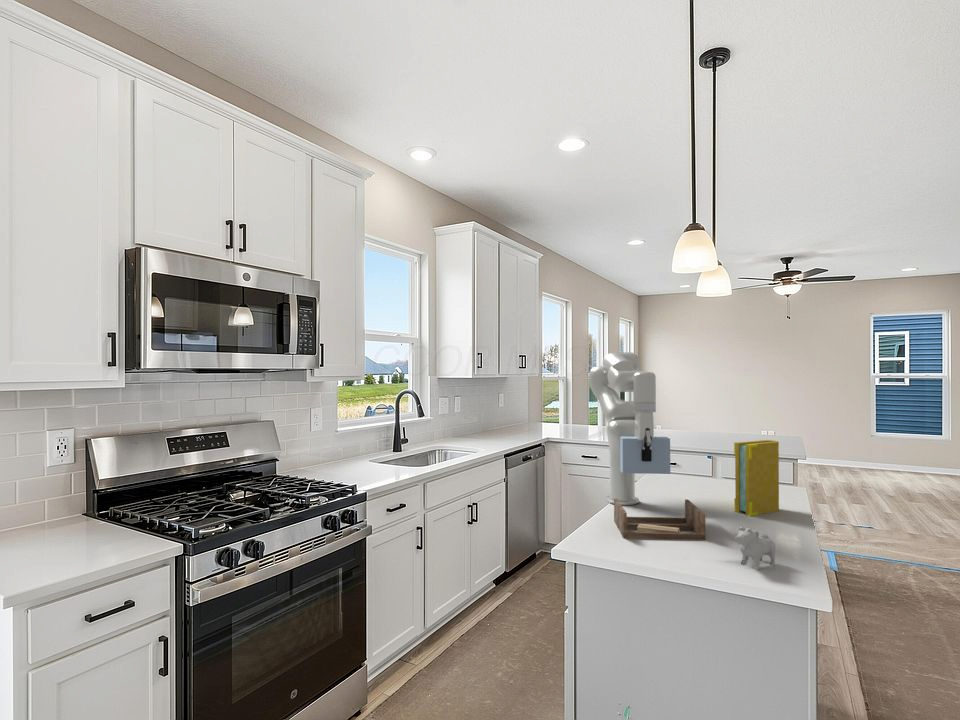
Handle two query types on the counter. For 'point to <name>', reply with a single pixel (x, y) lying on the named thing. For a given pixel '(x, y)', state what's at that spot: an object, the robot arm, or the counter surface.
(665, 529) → the offcut top
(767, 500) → the book
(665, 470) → the blue-grey rectangular block
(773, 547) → the grey animal figure
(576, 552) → the counter surface
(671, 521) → the rack
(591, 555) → the counter surface
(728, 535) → the counter surface
